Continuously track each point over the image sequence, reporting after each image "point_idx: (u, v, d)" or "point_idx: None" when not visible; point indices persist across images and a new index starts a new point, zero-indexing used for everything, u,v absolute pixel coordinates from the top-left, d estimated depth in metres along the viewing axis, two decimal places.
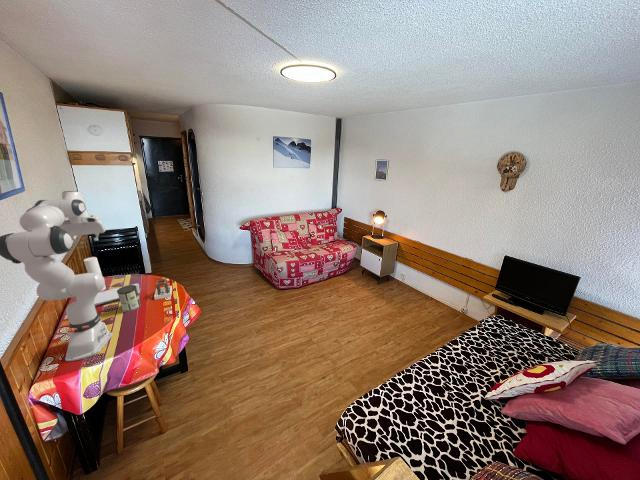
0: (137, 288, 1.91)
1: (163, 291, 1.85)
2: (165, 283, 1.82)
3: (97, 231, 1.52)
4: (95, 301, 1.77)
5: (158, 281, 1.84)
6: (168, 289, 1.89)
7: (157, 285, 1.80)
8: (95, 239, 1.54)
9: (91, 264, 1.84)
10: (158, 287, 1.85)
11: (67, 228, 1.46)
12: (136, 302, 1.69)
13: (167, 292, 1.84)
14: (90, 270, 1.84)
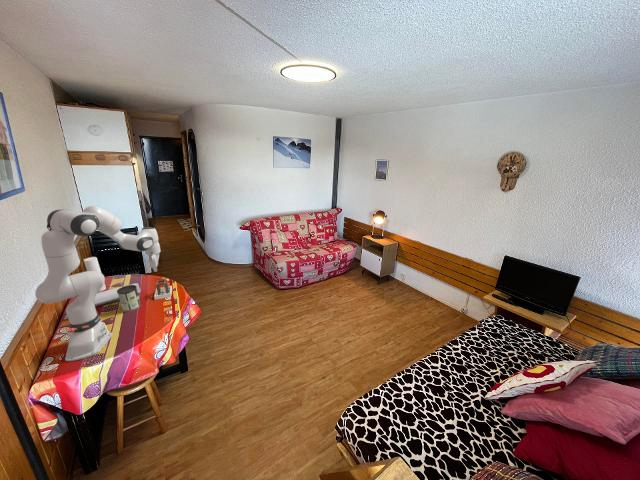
0: (137, 288, 1.91)
1: (163, 291, 1.85)
2: (165, 283, 1.82)
3: (158, 256, 1.83)
4: (95, 301, 1.76)
5: (158, 281, 1.84)
6: (168, 289, 1.89)
7: (157, 285, 1.80)
8: None
9: (91, 264, 1.84)
10: (158, 287, 1.85)
11: (155, 259, 1.72)
12: (136, 302, 1.69)
13: (167, 292, 1.84)
14: (90, 270, 1.84)
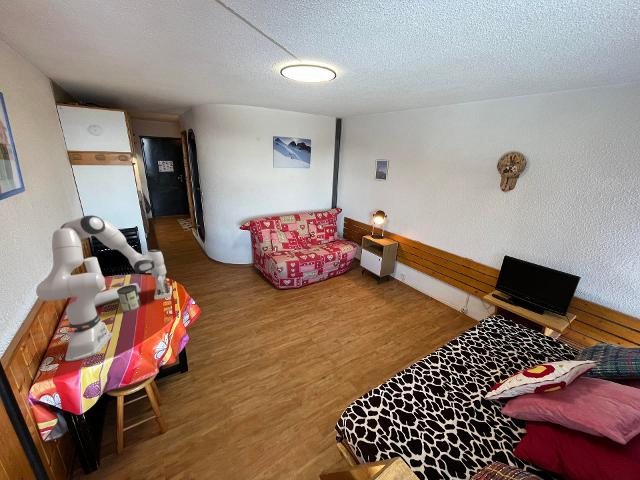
0: (137, 287, 1.92)
1: (163, 291, 1.85)
2: (165, 283, 1.82)
3: (164, 277, 1.90)
4: (95, 302, 1.76)
5: None
6: (168, 289, 1.89)
7: None
8: None
9: (91, 264, 1.84)
10: None
11: (161, 280, 1.78)
12: (136, 302, 1.69)
13: (167, 292, 1.84)
14: (90, 270, 1.84)
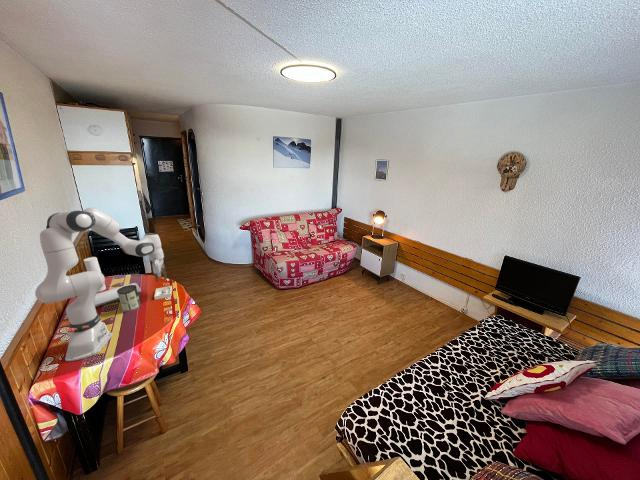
0: (136, 287, 1.92)
1: (163, 291, 1.85)
2: (163, 268, 1.77)
3: (162, 262, 1.85)
4: (95, 302, 1.75)
5: None
6: (166, 275, 1.85)
7: None
8: None
9: (91, 264, 1.84)
10: None
11: (158, 264, 1.73)
12: (136, 302, 1.69)
13: (165, 277, 1.80)
14: (90, 270, 1.84)
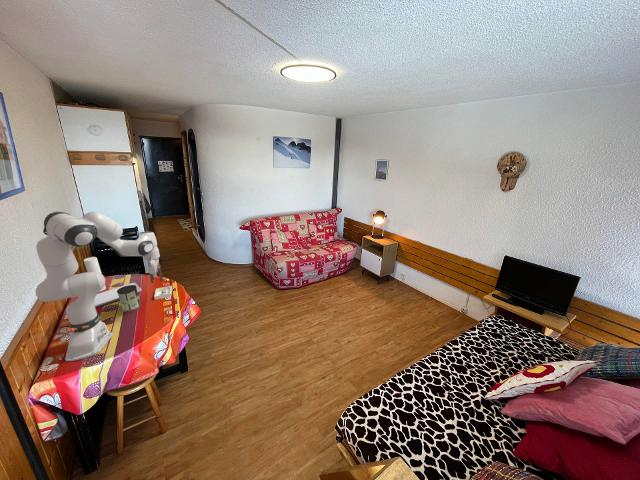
0: (136, 287, 1.92)
1: (163, 291, 1.85)
2: (159, 268, 1.69)
3: (158, 262, 1.76)
4: (96, 303, 1.75)
5: None
6: None
7: None
8: (157, 271, 1.74)
9: (91, 264, 1.84)
10: None
11: (154, 264, 1.64)
12: (136, 302, 1.69)
13: (161, 278, 1.71)
14: (90, 270, 1.84)
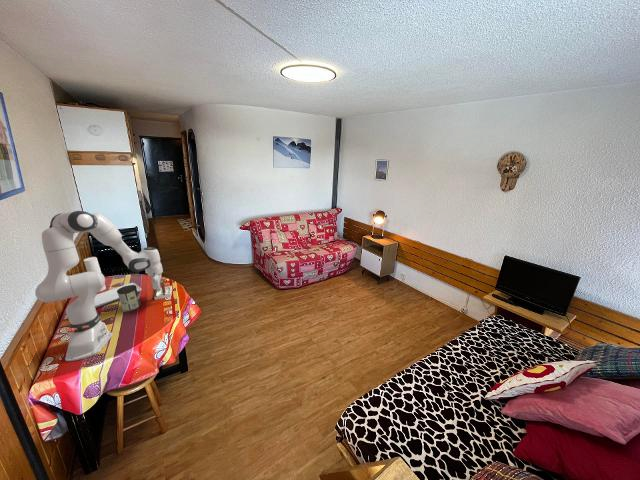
0: (136, 286, 1.93)
1: None
2: (162, 282, 1.72)
3: None
4: (96, 303, 1.75)
5: None
6: (164, 289, 1.80)
7: None
8: None
9: (91, 264, 1.84)
10: None
11: (158, 279, 1.68)
12: (136, 302, 1.69)
13: (164, 292, 1.75)
14: (90, 270, 1.84)
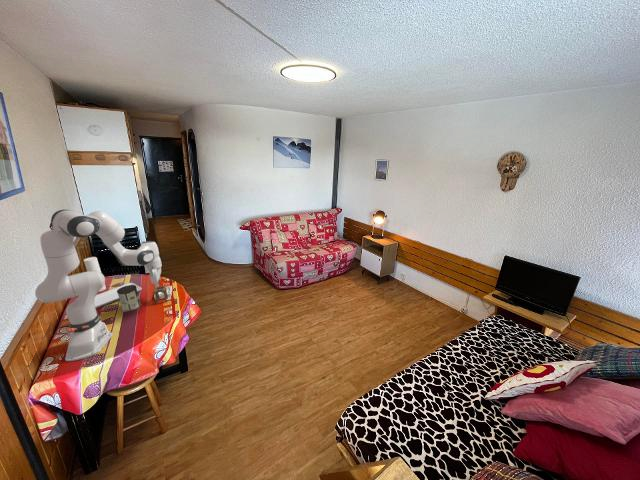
0: None
1: None
2: (164, 290, 1.74)
3: (160, 271, 1.78)
4: (96, 303, 1.74)
5: (157, 288, 1.76)
6: (167, 296, 1.81)
7: (155, 292, 1.72)
8: None
9: (91, 264, 1.84)
10: (157, 294, 1.77)
11: (156, 273, 1.66)
12: (136, 302, 1.69)
13: (166, 299, 1.76)
14: (90, 270, 1.84)
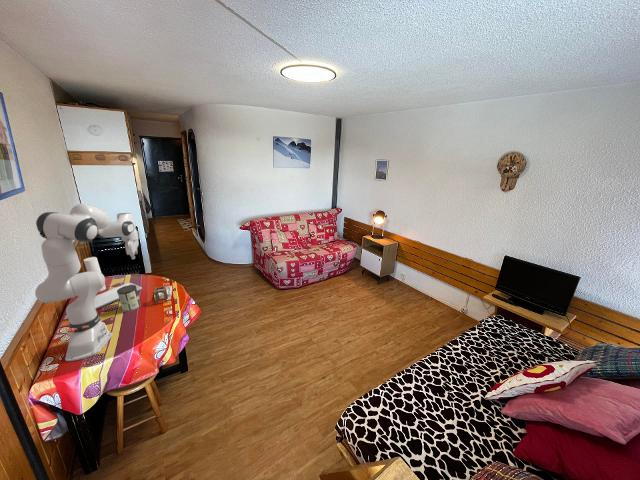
0: None
1: None
2: (164, 290, 1.73)
3: (137, 244, 1.79)
4: (97, 304, 1.74)
5: (157, 288, 1.76)
6: (167, 296, 1.81)
7: (155, 293, 1.72)
8: (137, 252, 1.78)
9: (91, 264, 1.84)
10: (157, 294, 1.77)
11: (132, 245, 1.67)
12: (136, 302, 1.69)
13: (166, 300, 1.76)
14: (90, 270, 1.84)
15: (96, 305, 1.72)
